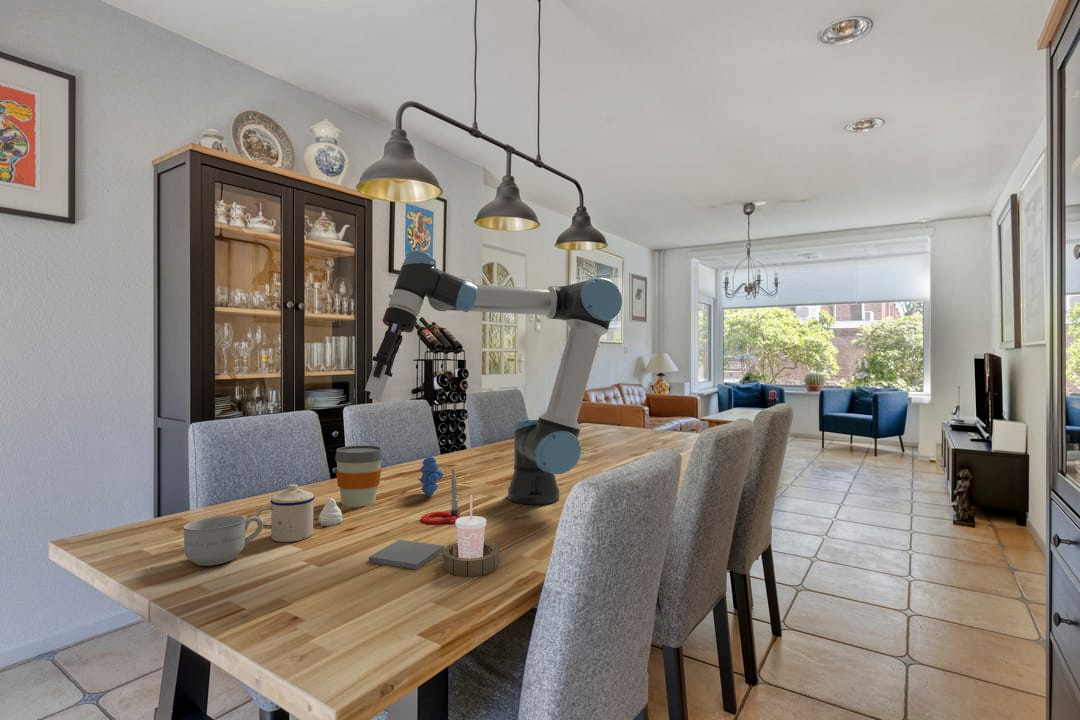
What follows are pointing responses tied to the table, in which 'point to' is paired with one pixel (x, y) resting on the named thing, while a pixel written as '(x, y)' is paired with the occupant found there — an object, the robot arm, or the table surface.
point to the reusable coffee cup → (358, 474)
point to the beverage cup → (470, 535)
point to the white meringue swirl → (330, 514)
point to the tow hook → (451, 515)
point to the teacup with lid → (290, 515)
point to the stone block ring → (470, 561)
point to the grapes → (430, 475)
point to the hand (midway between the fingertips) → (372, 396)
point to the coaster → (406, 554)
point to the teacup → (217, 538)
